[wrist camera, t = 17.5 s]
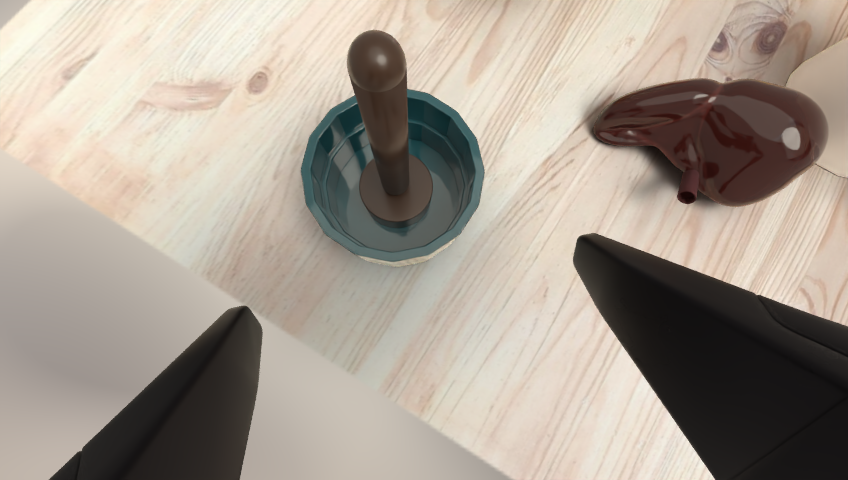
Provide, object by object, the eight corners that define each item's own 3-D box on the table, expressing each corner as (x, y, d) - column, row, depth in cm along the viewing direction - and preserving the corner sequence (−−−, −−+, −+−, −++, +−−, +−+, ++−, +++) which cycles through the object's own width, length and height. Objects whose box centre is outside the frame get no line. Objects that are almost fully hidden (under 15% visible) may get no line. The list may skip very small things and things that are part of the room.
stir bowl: (453, 279, 20) (466, 277, 16) (312, 251, 20) (281, 240, 15) (477, 147, 22) (496, 106, 17) (346, 120, 22) (326, 71, 17)
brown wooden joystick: (444, 199, 21) (497, 54, 8) (393, 242, 20) (361, 162, 7) (401, 150, 21) (384, -64, 8) (350, 191, 20) (246, 31, 8)
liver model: (741, 180, 25) (763, 249, 18) (604, 109, 28) (576, 146, 21) (840, 102, 20) (920, 155, 13) (663, 26, 23) (652, 37, 16)
